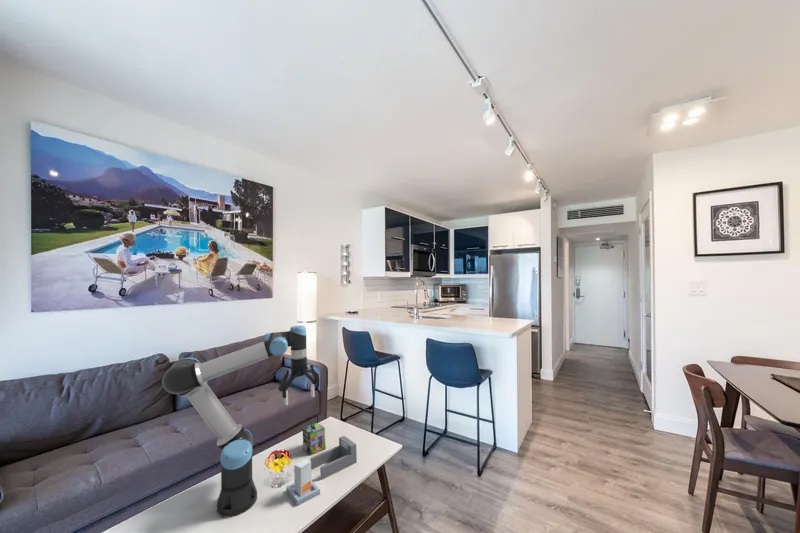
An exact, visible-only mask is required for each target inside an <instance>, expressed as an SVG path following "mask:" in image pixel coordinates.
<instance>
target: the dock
mask: <svg viewBox="0 0 800 533" xmlns="http://www.w3.org/2000/svg"><path fill="white" fill-rule="evenodd" d="M357 458H358V456H357V443H356V442H354V441H353V440H351V439H349V438H348V437H347V436H346V435H342V436H339V437H338V445H337V446H335V447H333V448H330V449H328V450H326V451H323V452H321V453H319V454H317V455H314V456H312V457H310V461H311V470H315V469H317V468H318V467H319V469H320V473H319V474H320V479H321V480H325V479H326V478H328V477H331V476H332V475H334V474H336V473H338V472H340V471H342V470H344V469H346V468H348V467H351V466H352V465H354V464H357V463H358V462H357V460H358V459H357Z"/></svg>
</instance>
